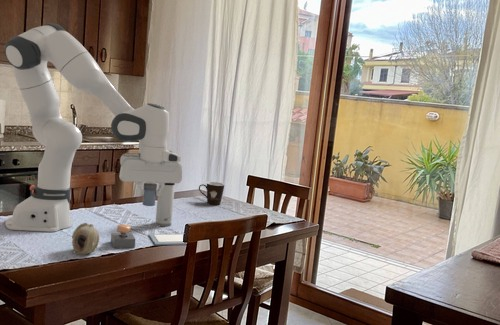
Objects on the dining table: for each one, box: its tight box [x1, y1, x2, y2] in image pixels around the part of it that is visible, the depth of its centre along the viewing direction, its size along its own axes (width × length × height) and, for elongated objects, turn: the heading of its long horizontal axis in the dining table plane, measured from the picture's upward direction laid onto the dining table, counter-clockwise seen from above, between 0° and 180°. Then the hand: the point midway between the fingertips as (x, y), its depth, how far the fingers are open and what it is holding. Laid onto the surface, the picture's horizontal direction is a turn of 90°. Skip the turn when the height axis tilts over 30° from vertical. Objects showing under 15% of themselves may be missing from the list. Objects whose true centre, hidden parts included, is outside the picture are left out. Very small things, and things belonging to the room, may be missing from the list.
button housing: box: [110, 232, 136, 249], centre depth 179 cm, size 7×7×3 cm
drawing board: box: [148, 233, 186, 246], centre depth 190 cm, size 14×11×1 cm
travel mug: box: [155, 183, 176, 227], centre depth 207 cm, size 6×7×20 cm
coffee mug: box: [198, 181, 225, 206], centre depth 253 cm, size 12×9×10 cm
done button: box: [116, 224, 132, 237], centre depth 178 cm, size 4×4×5 cm
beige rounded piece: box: [71, 222, 100, 256], centre depth 167 cm, size 9×8×10 cm
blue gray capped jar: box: [142, 182, 158, 207], centre depth 172 cm, size 4×4×7 cm
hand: (149, 195), depth 173 cm, fingers closed on blue gray capped jar, 4 cm apart
